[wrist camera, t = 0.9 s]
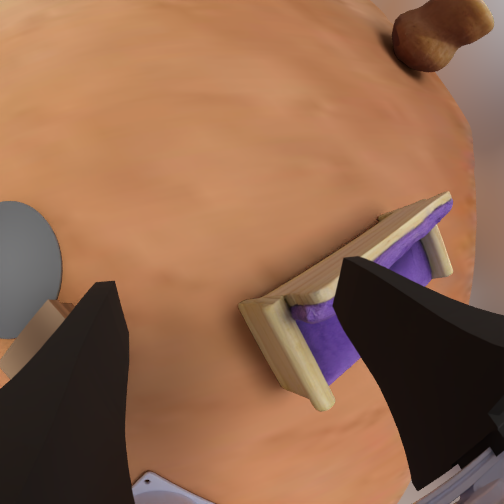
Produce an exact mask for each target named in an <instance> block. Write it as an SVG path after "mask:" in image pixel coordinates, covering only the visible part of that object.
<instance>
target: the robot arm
mask: <svg viewBox="0 0 504 504" xmlns="http://www.w3.org/2000/svg"><path fill="white" fill-rule="evenodd" d="M332 307H333V309H334V311H335V313H336V316H337V318H338V320H339V322H340V324H341V326H342V328H343V330H344V332H345V333H346V335H347V337H348V338H349V340H350V341H351V343H352V344H353V346H354V348H355V349H356V351H357V352H358V354H359V355H360V357H361V358H362V360H363V361H364V363H365V364H366V366H367V367H368V369H369V371H370V372H371V374H372V375H373V377H374V378H375V380H376V382H377V384H378V385H379V387H380V389H381V391H382V393H383V396H384V398H385V400H386V402H387V404H388V406H389V409H390V411H391V413H392V416H393V418H394V421H395V423H396V426H397V428H398V431H399V434H400V437H401V440H402V443H403V446H404V449H405V453H406V457H407V461H408V465H409V469H410V474H411V479H412V483H413V485H414V486H415V488H416V490H417V491H419V490H421V489H422V488H424V487H425V486H427V485H428V484H430V483H431V482H433V481H434V480H436V479H437V478H439V477H440V476H442V475H443V474H445V473H446V472H447V471H449V470H450V469H452V468H453V467H454V466H455V465H457V464H459V466H460V468H461V469H462V470H461V471H459V472H458V473H457V474H455V475H454V476H453V477H451V478H450V479H449V480H448V481H446V482H445V483H443V484H442V485H440V486H439V487H437V488H436V489H435V490H433V491H432V492H430V493H429V494H427V495H426V496H424V497H423V498H421V499H419V500H418V501H416V502H415V503H413V504H450V503H451V502H452V501H454V500H455V499H456V498H457V497H459V496H460V500H459V501H458V502H455V503H454V504H504V315H500V314H496V313H492V312H489V311H485V310H482V309H478V308H475V307H472V306H469V305H467V304H464V303H462V302H459V301H456V300H454V299H451V298H449V297H446V296H444V295H442V294H440V293H437V292H435V291H433V290H431V289H429V288H426V287H424V286H422V285H420V284H418V283H416V282H414V281H412V280H410V279H408V278H406V277H404V276H402V275H400V274H398V273H396V272H394V271H392V270H390V269H388V268H386V267H384V266H381V265H379V264H377V263H375V262H373V261H370V260H368V259H365V258H363V257H360V256H353V257H345V258H343V261H342V266H341V271H340V275H339V280H338V284H337V288H336V292H335V297H334V301H333V305H332ZM128 370H129V331H128V328H127V325H126V321H125V318H124V314H123V311H122V307H121V304H120V300H119V296H118V292H117V288H116V284H115V281H106V282H96V283H95V284H94V285H93V286H92V287H91V288H90V289H89V290H88V292H87V293H86V294H85V295H84V296H83V298H82V299H81V300H80V301H79V303H78V304H77V305H76V306H75V308H74V309H73V310H72V311H71V313H70V314H69V315H68V316H67V317H66V319H65V320H64V321H63V322H62V324H61V325H60V326H59V327H58V328H57V330H56V331H55V332H54V333H53V334H52V335H51V337H50V338H49V339H48V340H47V341H46V342H45V344H44V345H43V346H42V347H41V348H40V350H39V351H38V352H37V353H36V354H35V355H34V356H33V357H32V358H31V359H30V361H29V362H28V363H27V364H26V365H25V366H24V367H23V368H22V369H21V370H20V371H19V372H18V373H17V374H16V375H15V376H14V377H13V378H12V379H11V380H10V381H9V382H8V383H6V384H5V385H4V386H3V387H2V388H1V389H0V504H215V503H212V502H210V501H208V500H206V499H203V498H201V497H199V496H197V495H195V494H193V493H191V492H189V491H187V490H185V489H183V488H181V487H179V486H177V485H175V484H173V483H171V482H170V481H168V480H166V479H164V478H162V477H161V476H159V475H157V474H155V473H154V472H146V473H145V474H144V475H143V476H142V477H141V478H140V479H139V480H138V481H137V482H136V483H135V484H134V485H133V486H131V480H130V474H129V468H128V460H127V451H126V441H125V411H126V395H127V382H128ZM147 479H148V480H150V481H149V482H145V481H144V480H147Z"/></svg>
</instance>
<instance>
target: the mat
mask: <svg viewBox="0 0 504 504" xmlns="http://www.w3.org/2000/svg"><path fill="white" fill-rule="evenodd" d="M61 282H62V257H61V251H60V247H59V243H58V241H57V238H56V236H55V234H54V232H53V230H52V228H51V226H50V225H49V224H48V222H47V221H46V220H45V219H44V218H43V216H42V215H41V214H40V213H39V212H37V211H36V210H35V209H33V208H32V207H30V206H28V205H26V204H24V203H20V202H16V201H5V202H0V338H3V339H12V338H17V337H18V335H19V334H20V333H21V332H22V330H23V329H24V328H25V326H26V325H27V324H28V323H29V321H30V320H31V319H32V318H33V317H34V315H35V314H36V313H37V312H38V311H39V309H40V308H41V307H42V306H43V305H44V303H45V302H46V301H47V300H48V299H49V300H57V298H58V295H59V291H60V287H61Z"/></svg>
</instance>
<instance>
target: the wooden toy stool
mask: <svg viewBox="0 0 504 504" xmlns="http://www.w3.org/2000/svg"><path fill="white" fill-rule="evenodd" d="M74 308H75V307H74V306H73V305H72V304H71V303H61V302H60V301H59V300H49V299H48V300H47V301H46V302H45V303H44V305H43V306H42V307H41V308H40V309H39V311H38V312H37V313H36V314H35V315H34V317H33V318H32V319H31V320H30V321H29V323H28V324H27V325H26V326H25V328H24V329H23V330H22V332H21V333H20V334H19V335H18V337H17V338H16V339H15V341H14V342H13V343H12V345H11V346H10V347H9V349H8V350H7V351H6V353H5V354H4V355H3V357H2V358H1V360H0V368H1V369H2V371H3V372H4V373H5V374H6V375H7V376H8V377H9V379H10V380H11V379H12V378H13V377H14V376H15V375H16V374H17V373H18V372H19V371H20V370H21V369H22V368H23V367H24V366H25V365H26V364H27V363H28V362H29V361H30V359H31V358H32V357H33V356H34V355H35V354H36V353H37V352H38V351H39V350H40V348H41V347H42V346H43V345H44V344H45V342H46V341H47V340H48V339H49V338H50V337H51V335H52V334H53V333H54V332H55V331H56V330H57V328H58V327H59V326H60V325H61V324H62V322H63V321H64V320H65V319H66V317H67V316H68V315H69V314H70V313H71V311H72V310H73V309H74Z"/></svg>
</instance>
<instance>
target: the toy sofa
mask: <svg viewBox="0 0 504 504" xmlns="http://www.w3.org/2000/svg"><path fill="white" fill-rule="evenodd" d="M452 205H453V200H452V198H451V195H450V193H449V191H446V192H443V193H440V194H438V195H436V196H434V197H431V198H429V199H427V200H426V199H423V200H420V201H418V202H416V203H413V204H411V205H408V206H405V207H402V208H399V209H397V210H394V211H391V212H388V213H385V214H382V215H380V216H379V217H378V220H379V223H378V224H377V225H375V226H374V227H372V228H371V229H369V230H368V231H366V232H365V233H363V234H362V235H360V236H359V237H357V238H356V239H354V240H353V241H351V242H350V243H348V244H347V245H345V246H344V247H342V248H341V249H339V250H338V251H336V252H334V253H333V254H331V255H330V256H328V257H327V258H325V259H324V260H322V261H320V262H319V263H317V264H316V265H314V266H313V267H311V268H309V269H308V270H306V271H305V272H303V273H301V274H300V275H298V276H296V277H295V278H293V279H291V280H290V281H288V282H286V283H285V284H283V285H281V286H280V287H278V288H277V289H275V290H273V291H271V292H270V293H268V294H266V295H265V296H263V297H261V298H255V299H248V300H244V301H242V302H241V303H239V304H238V308H239V310H240V312H241V314H242V316H243V318H244V320H245V321H246V323H247V325H248V327H249V329H250V331H251V333H252V335H253V337H254V338H255V340H256V342H257V344H258V346H259V348H260V350H261V351H262V353H263V355H264V357H265V359H266V361H267V362H268V364H269V366H270V368H271V369H272V371H273V373H274V374H275V376H276V378H277V380H278V381H279V383H280V385H281V387H283V388H284V389H286V390H288V391H291V392H293V393H296V394H298V395H301V396H303V397H306V398H308V399H309V400H310V401H311V403H312V405H313V406H314V408H315V409H316V410H318V411H326V410H329V409H330V408H331V407H332V406H333V405H334V403H335V398H334V396H333V394H332V392H331V390H330V388H329V385H330V384H331V383H333V382H334V381H335V380H336V379H337V378H338V377H339V376H341V375H342V374H343V373H344V372H345V371H346V370H347V369H348V368H350V367H351V366H352V365H353V364H354V363H355V362H356V361H357V360H359V358H360V355H359V354H358V352H357V351H356V349H355V348H354V346H353V344H352V343H351V341H350V340H349V338H348V337H347V335H346V333H345V332H344V330H343V328H342V326H341V324H340V322H339V320H338V318H337V316H336V313H335V311H334V309H333V307H332V305H333V301H334V297H335V292H336V288H337V284H338V280H339V275H340V271H341V266H342V261H343V258H345V257H353V256H360V257H363V258H365V259H368V260H370V261H373V262H375V263H377V264H379V265H381V266H384V267H386V268H388V269H390V270H392V271H394V272H396V273H398V274H400V275H402V276H404V277H406V278H408V279H410V280H412V281H414V282H416V283H418V284H420V285H422V286H424V287H425V286H426V285H427V284H428V283H429V282H430V280H431V279H434V278H442V277H447V276H449V275H451V274H452V273H453V269H452V266H451V263H450V260H449V257H448V254H447V251H446V248H445V245H444V242H443V240H442V237H441V234H440V232H439V229H438V226H437V223H438V222H440V220H441V219H442V218H443V217H444V216H445V215H446V214H447V213H448V212H449V211H450V210H451V208H452Z"/></svg>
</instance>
